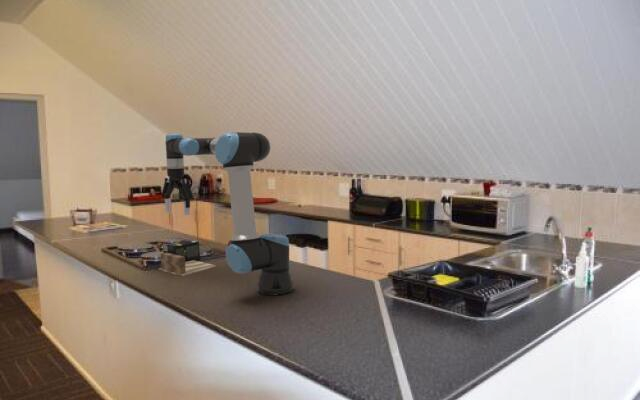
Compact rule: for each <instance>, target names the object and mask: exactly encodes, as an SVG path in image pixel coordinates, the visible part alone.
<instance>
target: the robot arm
mask: <svg viewBox="0 0 640 400" xmlns="http://www.w3.org/2000/svg"><path fill="white" fill-rule="evenodd" d="M183 137H184V136H183V135H182V133H169V134H168V133H167V134H166V135H165V154H166V168H167V169H166V174H167V177H165V178H164V184H163V187H162V191H161V198H163V199H164V205H165V207H164V208H165V210H164V211H165V213H166V214H168V213H172V199H171V195H173V192H174V190H175V189H177V190H179V193H180V194H181V196H182V198H183V215H184V216H189V215H190V214H191V210H190V209H191V201H192V200H193V199H194V196H193V194H192V191H191V188H190V185H189V180H188V178H184V176H185V169H184V167H185V166H184V156H186V157H191V156H200V155H201V156H202V155H203V156H204V155H207V156H208V155H212V156H213V155H215V158H216V160H217V161H218V163H220V164H221V165H222V168H223V170H224V171H225V172H227V176H228V177H227V179H228V180H227V181H228V186H229V187H228V188H229V197H230V209H231V216H232V218H231V219H232V228H233V236H232V237H230V240H231V245H229V246H228V245H227V247H226V250H225V259H226V263H227V264H228V266H229V268H230V269H231V270H232V271H233V272H234V273H236V274H247V273H248V274H249V273H252V272H255V271H259V270H260V275H259V277H258V282H257V285H256V291H257V293H259V292H260V293H259V294H261V293H263V294H262V295H265V294H273V295H272V296H275V295H274V294H283V295H285V294H284V293H288V292H290V293H292V292H293V291H294V290H295V285H294V282H293V278H292V276H291V272H290V240H289V237H287V236H286V235H285V234H277V233H276V234H275V233H262V234H259V233H258V232H257V227H256V217H255V215H256V214H255V206H254V198H253V189H252V188H253V187H252V178H251V177H252V176H251V171H252V169H253V168H254V163H256V162H257V163H258V162H261V161H264V160H265V159H266V158H267V157H268V155H269V154H270V151H271V144H270V140H269V138H267V137H266V135H264V134H262V133H259V132H238V131H237V132H233V131H232V132H225V133H223V134H221V135H220V136H219V137H206V138H205V137H202V138H201V137H200V138H199V137H196V138H195V137H194V138H193V137H185V138H183ZM293 289H294V290H293ZM292 290H293V291H292ZM291 291H292V292H291ZM288 294H289V293H288Z"/></svg>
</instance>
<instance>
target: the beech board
mask: <svg viewBox="0 0 640 400" xmlns="http://www.w3.org/2000/svg"><path fill="white" fill-rule="evenodd" d="M213 268H217V265H216V264H213V263H207V262H202V261H199V260H192V261H188V262H185V257H183V256H179V255H175V254H170V253H160V268H158V271H162V272H165V273H170V274H173V275H178V276H180V277H185V276H188V275H192V274H195V273H200V272H204V271H206V270H210V269H213Z"/></svg>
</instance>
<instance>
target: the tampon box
mask: <svg viewBox="0 0 640 400" xmlns="http://www.w3.org/2000/svg"><path fill="white" fill-rule="evenodd" d="M162 251H163V253H170V254H175V255H179V256H183V257H185V262H188V261H192V260H195V261H197V260H200V259H201V254H200V253H201V251H200V242H199V241H197V240H188V239H186V240H181V241H174V242H170V243H164V244H162Z"/></svg>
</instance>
